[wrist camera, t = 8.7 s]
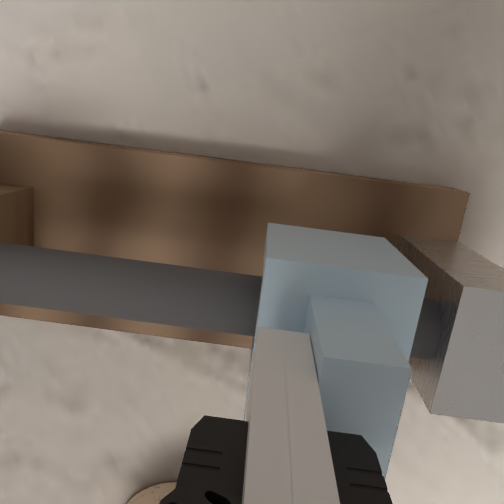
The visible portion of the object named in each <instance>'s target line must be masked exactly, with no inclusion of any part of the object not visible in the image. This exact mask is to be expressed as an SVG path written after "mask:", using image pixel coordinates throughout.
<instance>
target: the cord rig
mask: <svg viewBox="0 0 504 504" xmlns="http://www.w3.org/2000/svg"><path fill="white" fill-rule="evenodd" d="M469 194H470V193H467V192H464V191H461V190H458V189H454V188H447V187H439V186H432V185H424V184H416V183H408V182H400V181H392V180H385V179H377V178H369V177H361V176H353V175H345V174H338V173H330V172H322V171H314V170H306V169H298V168H291V167H283V166H275V165H267V164H259V163H251V162H244V161H236V160H228V159H220V158H212V157H204V156H197V155H189V154H181V153H173V152H165V151H157V150H150V149H142V148H134V147H126V146H118V145H110V144H103V143H95V142H87V141H79V140H71V139H63V138H56V137H48V136H40V135H32V134H24V133H16V132H9V131H1V130H0V315H3V316H10V317H18V318H25V319H33V320H40V321H48V322H56V323H63V324H71V325H78V326H86V327H93V328H101V329H108V330H116V331H123V332H131V333H138V334H146V335H154V336H161V337H169V338H176V339H184V340H191V341H199V342H206V343H214V344H221V345H229V346H236V347H244V348H251V345H252V338H253V336H255V329H256V321H257V314H258V307H259V299H260V292H261V285H262V277H263V266H264V252H265V241H266V234H267V226H268V223H275V224H283V225H291V226H299V227H306V228H314V229H322V230H329V231H337V232H345V233H353V234H360V235H368V236H376V237H384V238H386V239H387V240H388V241H389V242H390V243H391V244H392V245H393V246H394V247H395V248H396V249H397V250H398V251H399V252H400V253H401V254H403V255H404V256H405V257H406V258H407V259H408V260H409V261H410V262H411V263H412V264H413V265H414V266H415V267H416V268H417V269H418V270H420V271H421V272H422V273H423V274H424V275H425V276H426V277H427V278H428V282H427V286H426V291H425V295H424V299H423V303H422V307H421V311H420V316H419V320H418V324H417V328H416V332H415V336H414V341H413V345H412V349H411V353H410V357H409V361H408V363H409V364H410V366H411V368H412V371H411V375H410V378H411V380H412V382H413V384H414V385H415V387H416V389H417V391H418V392H419V394H420V396H421V398H422V400H423V401H424V403H425V405H426V407H427V408H428V410H429V412H430V413H431V414H438V415H445V416H453V417H460V418H468V419H475V420H483V421H490V422H498V423H504V269H503V268H501V267H499V266H498V265H496V264H494V263H493V262H491V261H489V260H487V259H486V258H484V257H482V256H481V255H479V254H477V253H476V252H474V251H472V250H471V249H469V248H467V247H466V246H464V245H462V244H460V243H459V242H457V241H458V237H459V233H460V229H461V225H462V221H463V217H464V213H465V209H466V205H467V201H468V198H469Z"/></svg>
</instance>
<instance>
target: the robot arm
mask: <svg viewBox="0 0 504 504" xmlns="http://www.w3.org/2000/svg"><path fill="white" fill-rule="evenodd" d="M159 504H392V501H391V498H390V495H389V493H388V492H387V485H386V482H385V479H384V476H382V470H381V467H380V464H379V460H378V457H377V454H376V452H375V451H374V450H373V448H372V447H371V446H370V445H369V444H368V442H367V441H366V440H365V439H364V438H363V436H362V435H357V434H349V433H342V432H334V431H327V429H326V423H325V418H324V412H323V407H322V401H321V396H320V390H319V385H318V379H317V374H316V368H315V363H314V357H313V352H312V346H311V341H310V335H309V334H308V333H300V332H293V331H285V330H278V329H270V328H263V327H258V328H257V335H256V342H255V350H254V357H253V364H252V372H251V379H250V386H249V393H248V401H247V408H246V418H245V421H241V420H233V419H226V418H219V417H211V416H204V417H203V418H202V419H201V420H200V421H199V422H198V423H197V424H196V425H195V426H194V427H193V428H192V429H191V432H190V436H189V440H188V443H187V447H186V451H185V454H184V458H183V461H182V466H181V469H180V472H179V476H178V480H177V483H176V487H175V489H174V490H173V491H171V492H170V493H169V494H168V495H166V496H165V497H164V498H163V499H161V501H160V503H159Z"/></svg>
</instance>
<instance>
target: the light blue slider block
mask: <svg viewBox="0 0 504 504" xmlns="http://www.w3.org/2000/svg"><path fill="white" fill-rule="evenodd" d="M427 282H428V278H427V277H426V276H425V275H424V274H423V273H422V272H421V271H420V270H418V269H417V268H416V267H415V266H414V265H413V264H412V263H411V262H410V261H409V260H408V259H407V258H406V257H405V256H404V255H403V254H401V253H400V252H399V251H398V250H397V249H396V248H395V247H394V246H393V245H392V244H391V243H390V242H389V241H388V240H387V239H386V238H384V237H376V236H368V235H360V234H353V233H345V232H337V231H329V230H322V229H314V228H306V227H299V226H291V225H283V224H275V223H268V226H267V234H266V241H265V252H264V266H263V277H262V285H261V292H260V299H259V307H258V314H257V321H256V329H255V336H253V338H252V345H251V354H250V364H249V374H248V384H247V394H246V404H245V414H244V421H245V418H246V408H247V401H248V393H249V386H250V379H251V372H252V364H253V357H254V350H255V342H256V335H257V328H258V327H263V328H270V329H278V330H285V331H293V332H300V333H308V334H309V335H310V341H311V346H312V352H313V357H314V363H315V368H316V374H317V379H318V385H319V390H320V396H321V401H322V407H323V412H324V418H325V423H326V429H327V431H334V432H342V433H349V434H357V435H362V436H363V438H364V439H365V440H366V441H367V442H368V444H369V445H370V446H371V447H372V448H373V450H374V451H375V452H376V454H377V457H378V460H379V464H380V467H381V470H382V476H384V479H385V477H386V473H387V469H388V465H389V461H390V457H391V453H392V449H393V445H394V440H395V436H396V432H397V428H398V424H399V420H400V416H401V412H402V408H403V404H404V399H405V395H406V391H407V387H408V383H409V379H410V375H411V371H412V368H411V366H410V364H409V363H408V361H409V357H410V353H411V349H412V345H413V341H414V336H415V332H416V328H417V324H418V320H419V316H420V311H421V307H422V303H423V299H424V295H425V291H426V286H427Z"/></svg>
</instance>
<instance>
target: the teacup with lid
mask: <svg viewBox="0 0 504 504" xmlns="http://www.w3.org/2000/svg"><path fill="white" fill-rule="evenodd" d="M176 483H177V482H169V483H162V484H157V485H154V486H151V487H149V488H146V489H144V490H142V491H141V492H139V493H138V494H136V495H135V496H134V497H133V498H132V499H131V500H130V501H129V502H128V503H127V504H159V503H160V501H161V499H163V498H164V497H165V496H166V495H168V494H169V493H170V492H171V491H173V490H174V489H175V487H176Z"/></svg>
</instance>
